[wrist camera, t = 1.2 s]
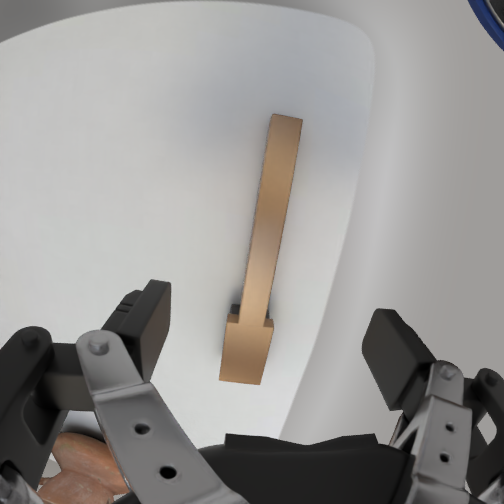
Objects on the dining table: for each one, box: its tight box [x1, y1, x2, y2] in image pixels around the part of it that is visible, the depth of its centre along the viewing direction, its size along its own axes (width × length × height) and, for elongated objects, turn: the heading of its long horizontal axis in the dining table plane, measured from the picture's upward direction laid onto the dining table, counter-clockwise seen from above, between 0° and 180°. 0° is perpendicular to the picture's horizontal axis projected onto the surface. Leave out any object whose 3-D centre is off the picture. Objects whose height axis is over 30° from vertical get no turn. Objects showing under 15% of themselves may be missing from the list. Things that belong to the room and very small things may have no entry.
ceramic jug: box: [37, 432, 129, 504], centre depth 26 cm, size 18×14×14 cm
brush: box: [219, 114, 303, 385], centre depth 21 cm, size 20×3×3 cm, turn 171°
